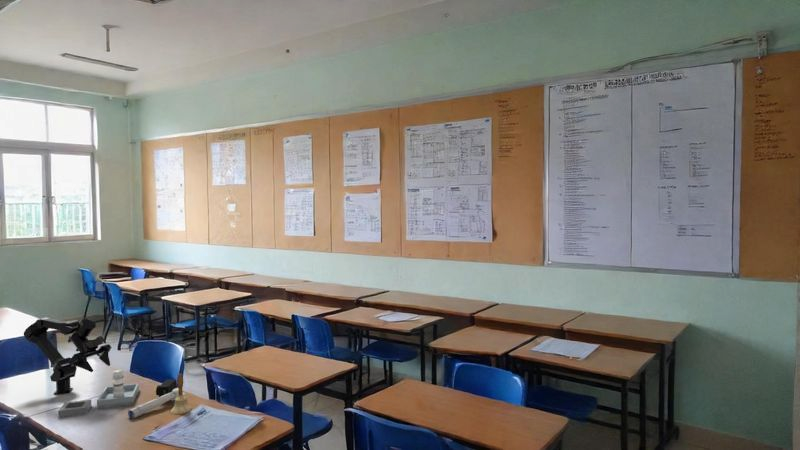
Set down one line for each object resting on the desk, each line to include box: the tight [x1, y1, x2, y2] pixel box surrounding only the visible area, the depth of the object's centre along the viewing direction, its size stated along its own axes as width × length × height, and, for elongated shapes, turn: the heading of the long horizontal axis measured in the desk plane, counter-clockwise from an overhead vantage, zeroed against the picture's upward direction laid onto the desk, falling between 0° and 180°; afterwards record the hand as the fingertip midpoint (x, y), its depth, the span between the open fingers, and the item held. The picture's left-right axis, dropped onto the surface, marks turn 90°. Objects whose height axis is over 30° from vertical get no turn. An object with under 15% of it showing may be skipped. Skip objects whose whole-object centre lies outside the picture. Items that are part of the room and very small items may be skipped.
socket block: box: [57, 399, 92, 419], centre depth 221 cm, size 10×10×3 cm
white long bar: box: [127, 387, 186, 420], centre depth 224 cm, size 5×7×25 cm
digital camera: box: [155, 378, 177, 403], centre depth 237 cm, size 10×5×7 cm, turn 5°
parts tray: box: [96, 383, 140, 409], centre depth 235 cm, size 18×14×4 cm
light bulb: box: [112, 369, 125, 398], centre depth 235 cm, size 4×4×12 cm
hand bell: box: [170, 373, 192, 415], centre depth 222 cm, size 8×8×16 cm
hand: (101, 368), depth 237 cm, fingers open, 9 cm apart
